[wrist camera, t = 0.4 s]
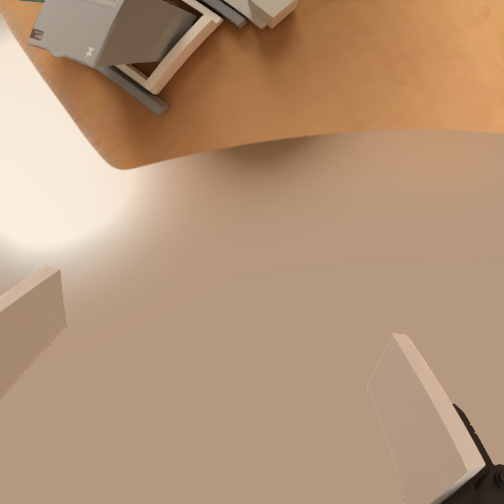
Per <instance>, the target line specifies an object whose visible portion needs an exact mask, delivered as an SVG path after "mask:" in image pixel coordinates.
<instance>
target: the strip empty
mask: <svg viewBox="0 0 504 504" xmlns="http://www.w3.org/2000/svg"><path fill="white" fill-rule="evenodd" d="M222 1H224V2H225V3H227V4H228V5H229V6H231V7H232V8H234V9H235V10H236V11H238V12H239V13H241V14H242V15H243V16H245V17H246V18H247V19H249V20H250V21H251V22H253V23H254V24H255V25H256V26H258V27H259V28H260V29H261V30H262V29H263V28H264V27H265V26H269V27H270V28H271V29H273V28H274V27H275V26H276V25H277V24H278V23H279V22H281V21H282V20H283V19H284V18H285V17H286V16H288V15H289V14H290V13H291V12H292V11H294V10H295V8H296V6H297V4H298V2H299V0H222Z"/></svg>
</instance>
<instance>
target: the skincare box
mask: <svg viewBox="0 0 504 504" xmlns="http://www.w3.org/2000/svg"><path fill="white" fill-rule="evenodd" d="M196 17H197V16H196V15H194V14H191V13H189V12H187V11H185V10H183V9H180V8H178V7H176V6H174V5H171V4H169V3H167V2H164V1H162V0H45V2H44V4H43V6H42V8H41V11H40V13H39V15H38V18H37V20H36V22H35V25H34V28H33V30H32V33H31V36H30V38H29V41H28V44H29V45H31V46H34V47H37V48H40V49H43V50H46V51H49V52H50V53H51V54H52V55H53V56H55V57H65V58H68V59H70V60H73V61H76V62H78V63H81V64H83V65H86V66H88V67H91V68H97V67H104V66H112V65H121V64H131V63H143V62H160V61H162V60H163V59H164V58H165V57H166V56H167V54H168V53H169V52H170V51H171V50H172V49H173V47H174V46H175V45H176V44H177V43H178V42H179V41H180V39H181V38H182V37H183V36H184V35H185V34H186V33H187V32H188V30H189V29H190V27H191V25H192V24H193V22H194V21H195V19H196Z"/></svg>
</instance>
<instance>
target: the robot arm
mask: <svg viewBox="0 0 504 504" xmlns="http://www.w3.org/2000/svg"><path fill="white" fill-rule="evenodd" d="M66 327H67V325H66V318H65V312H64V304H63V295H62V286H61V273H60V269H57V268H54V267H50V266H45V267H43V268H42V269H40V270H39V271H37V272H36V273H34V274H32V275H31V276H29V277H28V278H26V279H25V280H23V281H22V282H20V283H19V284H17V285H16V286H14V287H13V288H11V289H10V290H8V291H7V292H5V293H4V294H2V295H1V296H0V400H1V398H2V397H3V396H4V395H5V394H6V393H7V391H8V390H9V389H10V388H11V387H12V385H13V384H14V383H15V382H16V381H17V380H18V379H19V377H20V376H21V375H22V374H23V373H24V372H25V371H26V370H27V368H28V367H29V366H30V365H31V364H32V363H33V362H34V361H35V359H37V357H38V356H39V355H40V354H41V353H42V352H43V351H44V350H45V349H46V348H47V347H48V346H49V345H50V344H51V342H52V341H53V340H54V339H55V338H56V337H57V336H58V335H59V334H60V333H61V332H62V331H63V330H64V329H65V328H66ZM366 388H367V390H368V393H369V395H370V398H371V401H372V404H373V406H374V409H375V412H376V415H377V417H378V420H379V423H380V426H381V429H382V432H383V434H384V437H385V440H386V443H387V446H388V449H389V452H390V455H391V458H392V461H393V464H394V467H395V470H396V473H397V477H398V480H399V483H400V486H401V490H402V493H403V496H404V500H405V503H406V504H504V465H500V464H499V465H495V466H494V464H493V463H492V461H491V459H490V458H489V456H488V454H487V452H486V450H485V448H484V446H483V445H482V443H481V441H480V439H479V437H478V436H477V434H475V430H474V429H473V427H472V426H470V422H469V420H468V419H467V417H466V415H465V414H464V412H463V411H462V410H461V409H460V408H458V407H457V406H456V405H455V404H452V403H451V402H450V400H449V398H448V397H447V395H446V393H445V392H444V390H443V389H442V387H441V386H440V384H439V382H438V381H437V379H436V377H435V376H434V374H433V373H432V371H431V370H430V368H429V367H428V365H427V363H426V362H425V360H424V359H423V357H422V356H421V355H420V353H419V351H418V350H417V349H416V347H415V346H414V344H413V343H412V341H411V340H410V338H409V337H408V335H406V334H395V333H391V335H390V337H389V339H388V341H387V344H386V346H385V348H384V350H383V352H382V355H381V356H380V359H379V360H378V362H377V364H376V366H375V368H374V370H373V372H372V374H371V376H370V378H369V380H368V382H367V384H366Z"/></svg>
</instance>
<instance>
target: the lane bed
mask: <svg viewBox="0 0 504 504" xmlns="http://www.w3.org/2000/svg"><path fill="white" fill-rule="evenodd" d="M201 1H202V2H204V3H205V4H207V5H208V6H210V7H211V8H213V9H214V10H215V11H217V12H218V13H220V14H221V15H223V16H224V17H225V18H227V19H228V20H229V21H231V22H232V23H234V24H235V25H236V26H238V27H239V28H240V29H241V28H242V27H243V26H244V25H245V24H246V23H247V22H246V19H245V18H243V17H242V16H241V15H239V14H238V13H237V12H235V11H234V10H232V9H231V8H230V7H228V6H227V5H225V4H224V3H222V2H221V1H220V0H201ZM95 69H97V70H98V71H99V72H101V73H102V74H104V75H105V76H106V77H108V78H109V79H110V80H112V81H113V82H114V83H116V84H117V85H118V86H120V87H121V88H123V89H124V90H125V91H127V92H128V93H129V94H130V95H132V96H133V97H134V98H136V99H137V100H138V101H140V102H141V103H142V104H144V105H145V106H146V107H148V108H149V109H150V110H151V111H153V112H154V113H155V114H157V115H160V114H162V113H164V112H166V110H167V109H168V108H169V107H170V105H169V104H167V103H166V102H165V101H163V100H162V99H161V98H159V97H158V96H157V95H154V94H152V93H151V92H150V91H149V90H147V89H146V88H145V87H143V86H142V85H141V84H139V83H138V82H136V81H135V80H134V79H132V78H131V77H130V76H128V75H127V74H126V73H124V72H123V71H121V70H120V69H119V68H117V67H116V66H115V65H112V66H104V67H97V68H95Z"/></svg>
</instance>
